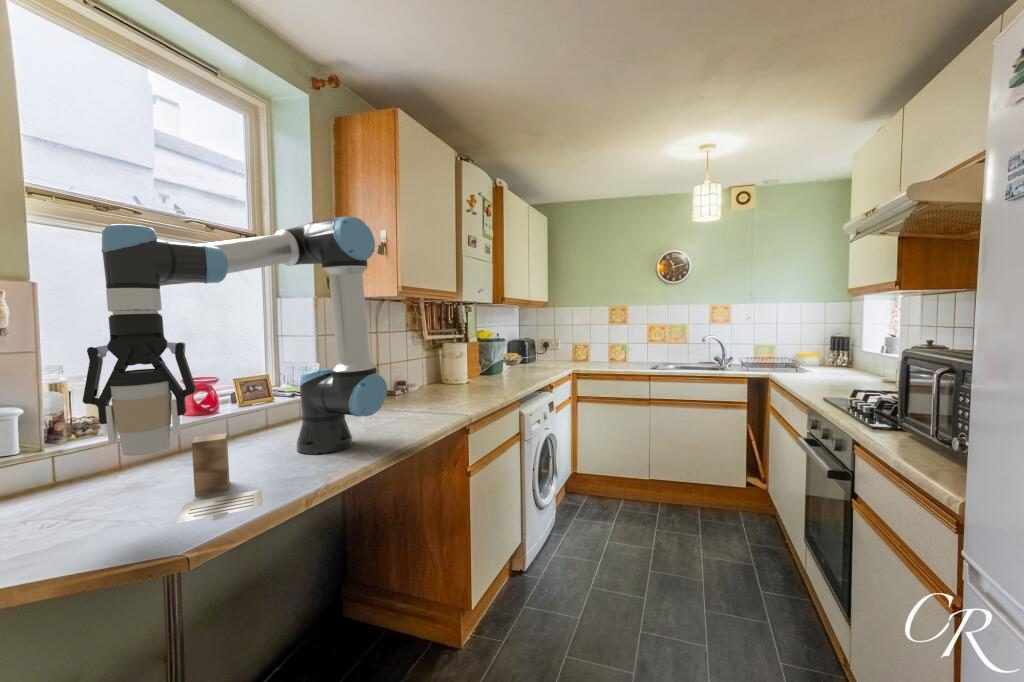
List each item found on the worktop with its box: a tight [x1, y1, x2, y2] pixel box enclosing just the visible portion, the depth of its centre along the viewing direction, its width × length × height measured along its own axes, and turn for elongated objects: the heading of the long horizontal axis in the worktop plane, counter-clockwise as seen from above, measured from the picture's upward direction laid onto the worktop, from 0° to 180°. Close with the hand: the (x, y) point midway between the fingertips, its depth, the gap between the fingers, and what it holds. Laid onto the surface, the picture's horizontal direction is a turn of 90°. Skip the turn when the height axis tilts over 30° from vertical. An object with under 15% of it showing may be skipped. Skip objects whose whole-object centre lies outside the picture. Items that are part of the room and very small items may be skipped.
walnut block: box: [191, 432, 231, 497], centre depth 101 cm, size 6×6×12 cm
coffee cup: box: [108, 368, 173, 457], centre depth 83 cm, size 9×9×15 cm
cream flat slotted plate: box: [175, 488, 263, 524], centre depth 92 cm, size 17×15×1 cm
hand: (146, 436), depth 84 cm, fingers closed on coffee cup, 8 cm apart
